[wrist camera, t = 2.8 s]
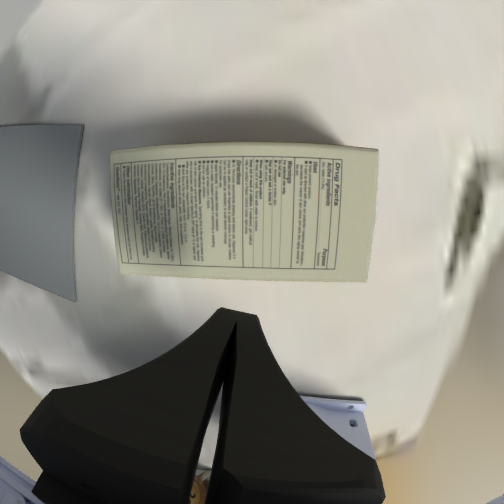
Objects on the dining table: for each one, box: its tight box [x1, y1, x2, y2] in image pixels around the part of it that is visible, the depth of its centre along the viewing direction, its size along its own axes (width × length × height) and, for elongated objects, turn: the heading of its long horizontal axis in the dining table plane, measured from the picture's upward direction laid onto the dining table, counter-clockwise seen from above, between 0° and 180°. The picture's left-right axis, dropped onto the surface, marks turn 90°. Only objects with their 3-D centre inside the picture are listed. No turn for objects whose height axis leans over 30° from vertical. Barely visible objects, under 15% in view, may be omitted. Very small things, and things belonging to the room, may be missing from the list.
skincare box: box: [110, 142, 379, 282], centre depth 14 cm, size 6×4×12 cm
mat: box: [0, 124, 84, 302], centre depth 17 cm, size 14×13×1 cm
